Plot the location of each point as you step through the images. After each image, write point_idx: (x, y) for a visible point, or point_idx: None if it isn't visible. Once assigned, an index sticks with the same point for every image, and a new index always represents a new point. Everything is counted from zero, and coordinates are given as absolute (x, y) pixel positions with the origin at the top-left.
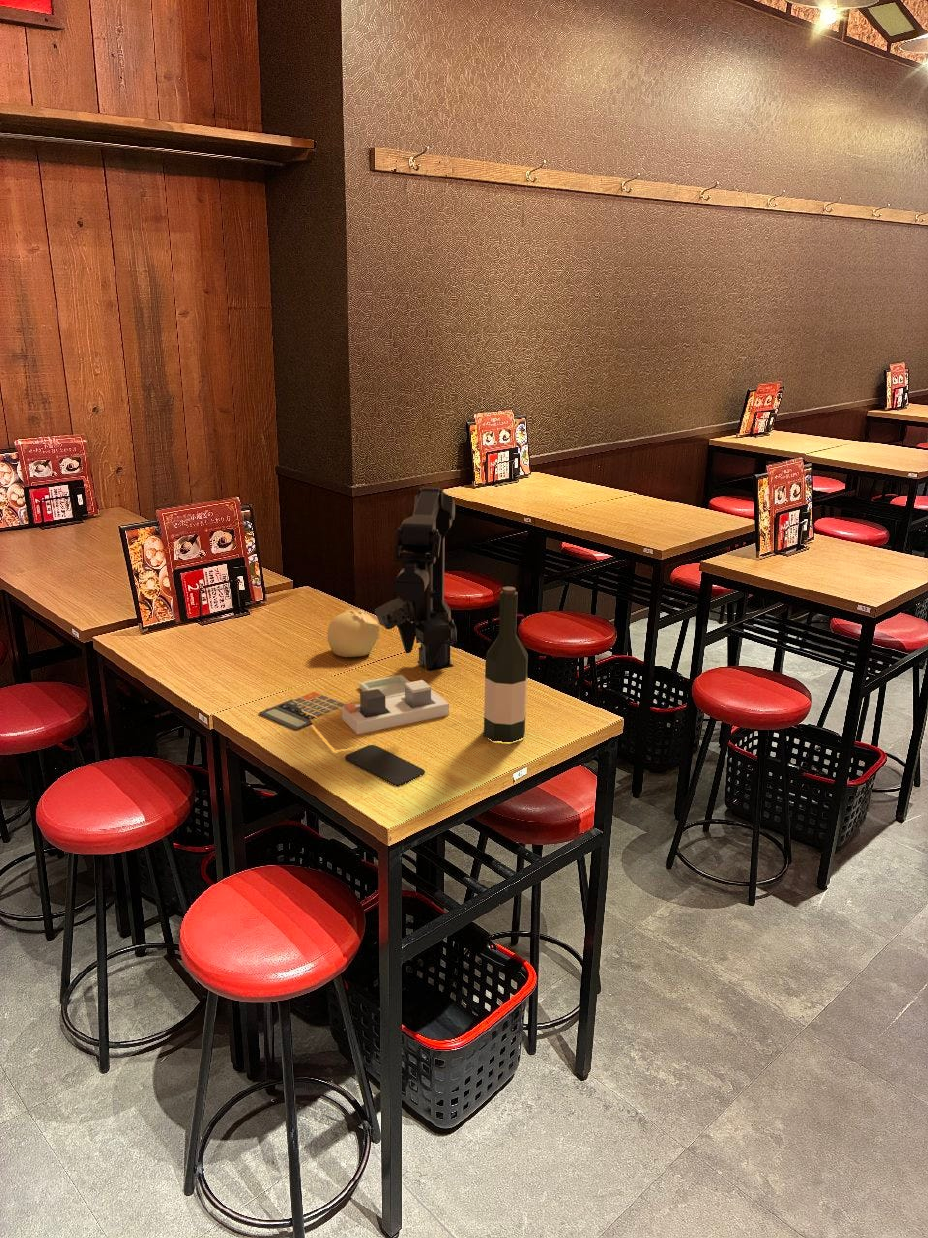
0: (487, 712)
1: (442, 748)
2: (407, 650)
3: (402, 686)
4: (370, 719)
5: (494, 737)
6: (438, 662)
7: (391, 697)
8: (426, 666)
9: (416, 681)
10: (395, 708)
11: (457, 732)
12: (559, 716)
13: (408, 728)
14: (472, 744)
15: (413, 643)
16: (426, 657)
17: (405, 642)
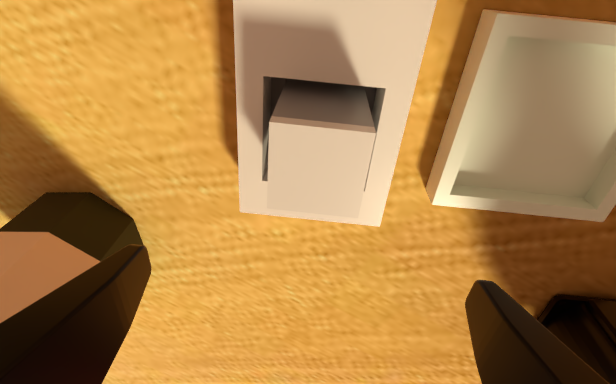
0: (12, 248)
1: (30, 42)
2: (480, 302)
3: (541, 184)
4: None
5: (34, 203)
6: (558, 337)
7: (420, 56)
8: (115, 254)
9: (357, 189)
10: (299, 5)
11: (139, 149)
12: (151, 351)
13: (229, 17)
14: (46, 141)
15: (482, 382)
16: (20, 317)
17: (525, 360)
